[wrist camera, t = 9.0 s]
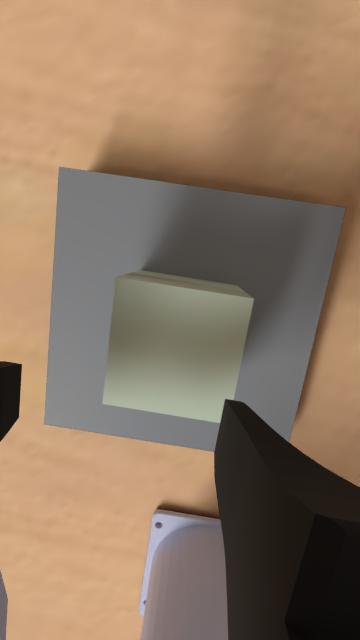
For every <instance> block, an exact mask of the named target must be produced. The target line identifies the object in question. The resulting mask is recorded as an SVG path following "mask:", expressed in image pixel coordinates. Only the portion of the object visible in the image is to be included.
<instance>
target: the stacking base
mask: <svg viewBox="0 0 360 640" xmlns="http://www.w3.org/2000/svg"><path fill="white" fill-rule="evenodd" d="M345 210H346V208H344V207H337V206H330V205H323V204H316V203H309V202H302V201H295V200H288V199H281V198H274V197H267V196H260V195H253V194H246V193H239V192H232V191H225V190H218V189H211V188H204V187H197V186H190V185H183V184H176V183H169V182H162V181H155V180H148V179H141V178H134V177H127V176H120V175H113V174H106V173H99V172H92V171H85V170H78V169H71V168H64V167H59V177H58V194H57V211H56V228H55V245H54V263H53V280H52V297H51V314H50V331H49V349H48V366H47V383H46V400H45V417H44V425H50V426H57V427H63V428H69V429H75V430H81V431H88V432H94V433H100V434H106V435H113V436H119V437H125V438H131V439H137V440H144V441H150V442H156V443H162V444H168V445H175V446H181V447H187V448H193V449H200V450H206V451H212V452H214V451H215V446H216V441H217V436H218V431H219V426H220V423H216V422H210V421H204V420H198V419H192V418H186V417H179V416H173V415H167V414H161V413H155V412H149V411H143V410H137V409H131V408H125V407H119V406H113V405H106V404H102V402H103V393H104V384H105V374H106V365H107V355H108V346H109V337H110V327H111V318H112V308H113V299H114V290H115V280H116V277H118V276H121V275H125V274H128V273H132V272H135V271H139V270H143V271H150V272H156V273H163V274H169V275H176V276H182V277H188V278H195V279H201V280H208V281H214V282H221V283H227V284H233V285H237V286H239V287H240V288H241V289H242V290H244V291H245V292H246V293H247V294H249V295H250V296H251V297H253V298H254V301H253V306H252V311H251V316H250V321H249V326H248V331H247V336H246V341H245V346H244V351H243V356H242V361H241V365H240V370H239V375H238V380H237V385H236V390H235V395H234V400H235V401H241V402H244V403H245V404H246V405H247V406H249V407H250V408H251V409H252V410H253V411H254V412H255V413H256V414H257V415H258V416H259V417H260V418H262V419H263V420H264V421H265V422H266V423H267V424H268V425H269V426H270V427H271V428H272V429H274V430H275V431H276V432H277V433H278V434H279V435H281V436H282V437H283V438H284V439H285V440H287V441H288V442H289V441H290V436H291V432H292V428H293V424H294V420H295V416H296V412H297V408H298V404H299V399H300V395H301V391H302V387H303V383H304V379H305V375H306V371H307V367H308V362H309V358H310V354H311V350H312V346H313V342H314V338H315V334H316V330H317V325H318V321H319V317H320V313H321V309H322V305H323V301H324V297H325V293H326V288H327V284H328V280H329V276H330V272H331V268H332V264H333V260H334V256H335V251H336V247H337V243H338V239H339V235H340V231H341V227H342V223H343V219H344V214H345Z"/></svg>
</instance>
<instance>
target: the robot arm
mask: <svg viewBox="0 0 360 640" xmlns="http://www.w3.org/2000/svg"><path fill="white" fill-rule="evenodd" d="M21 369H22V364H17V363H11V362H5V361H2V362H0V441H1V440H2V439H3V438H4V436H5V435H6V434H7V433H8V431H9V430H10V429H11V427H12V426H13V425H14V423H15V422H16V420H17V419H18V418H19V405H20V387H21ZM214 468H215V484H216V492H217V499H218V506H219V513H220V519H216V518H210V517H204V516H197V515H191V514H185V513H179V512H173V511H167V510H161V509H158V510H156V511H155V512H154V514H153V519H152V526H151V532H150V539H149V546H148V552H147V559H146V566H145V572H144V579H143V586H142V593H141V599H140V606H139V614H140V616H141V617H144V618H143V625H142V631H141V638H140V640H360V487H358V486H356V485H354V484H352V483H350V482H349V481H347V480H345V479H343V478H342V477H340V476H338V475H336V474H334V473H333V472H331V471H329V470H328V469H326V468H324V467H323V466H321V465H320V464H318V463H317V462H315V461H314V460H312V459H311V458H309V457H308V456H306V455H305V454H304V453H302V452H301V451H299V450H298V449H297V448H295V447H294V446H293V445H292V444H290V443H289V442H288V441H287V440H285V439H284V438H283V437H282V436H281V435H279V434H278V433H277V432H276V431H275V430H274V429H272V428H271V427H270V426H269V425H268V424H267V423H266V422H265V421H264V420H263V419H262V418H260V417H259V416H258V415H257V414H256V413H255V412H254V411H253V410H252V409H251V408H250V407H249V406H247V405H246V404H245V403H244V402H241V401H235V400H229V399H225V402H224V407H223V411H222V416H221V421H220V426H219V431H218V436H217V441H216V446H215V451H214ZM157 522H160V523H161V524H158V523H157ZM7 603H8V598H7V594H6V590H5V587H4V583H3V579H2V575H1V571H0V640H6V621H7Z"/></svg>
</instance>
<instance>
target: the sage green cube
mask: <svg viewBox="0 0 360 640" xmlns="http://www.w3.org/2000/svg"><path fill="white" fill-rule="evenodd" d="M253 301H254V298H253V297H251V296H250V295H249V294H247V293H246V292H245V291H244V290H242V289H241V288H240V287H239V286H237V285H233V284H227V283H221V282H214V281H208V280H201V279H195V278H188V277H182V276H176V275H169V274H163V273H156V272H150V271H143V270H139V271H135V272H132V273H128V274H125V275H121V276H118V277H116V280H115V290H114V299H113V308H112V318H111V327H110V337H109V346H108V355H107V365H106V374H105V384H104V393H103V402H102V404H106V405H113V406H119V407H125V408H131V409H137V410H143V411H149V412H155V413H161V414H167V415H173V416H179V417H186V418H192V419H198V420H204V421H210V422H216V423H220V421H221V416H222V411H223V407H224V402H225V399H229V400H234V395H235V390H236V385H237V380H238V375H239V370H240V365H241V361H242V356H243V351H244V346H245V341H246V336H247V331H248V326H249V321H250V316H251V311H252V306H253Z"/></svg>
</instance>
